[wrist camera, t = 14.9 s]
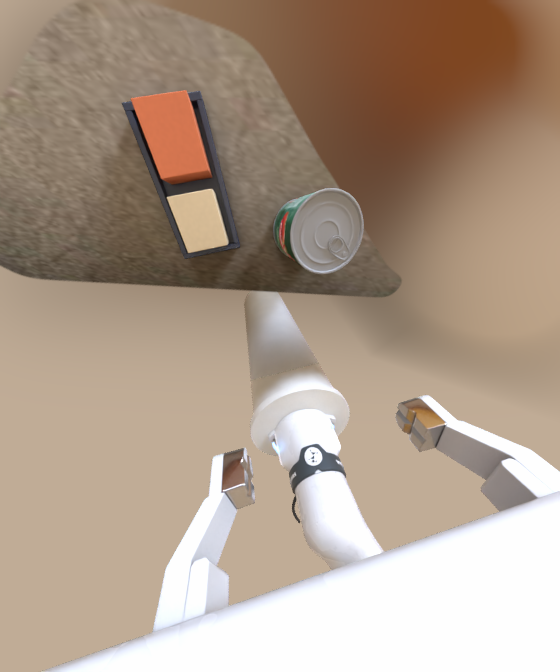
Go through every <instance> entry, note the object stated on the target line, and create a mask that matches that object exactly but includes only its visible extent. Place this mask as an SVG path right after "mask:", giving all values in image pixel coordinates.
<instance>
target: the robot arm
mask: <svg viewBox="0 0 560 672" xmlns="http://www.w3.org/2000/svg"><path fill="white" fill-rule="evenodd" d="M397 408H398V409H399V411H398V412H397V413H396V421H397V423H398V425H399V427H400V428H401V429H402V431H404V432H405V433H407V434H409V439H410V441H411V442H412V443H413V444H414V446H415V447H416V448H417V449H418V450H419V452H421V451H425V450H428V449H432V448H436V449H437V450H439V451H441V452H442V453H444V454H446V455H447V456H449V457H450V458H452V459H453V460H455V461H457V462H458V463H460V464H461V465H463V466H465V467H466V468H468V469H469V470H471V471H473V472H474V473H476V474H477V475H479V476H481V477H482V478H484V479H485V480H486V481H485V483H484V484H483V485H482V487H481V491H482V493H483V494H484V495H485V496H486V497H487V498H488V499H489V500H490V501H491V503H492V504H493V505H494V506H495V507H496V508H497V509H498V510H499V511H500V512H497V513H494V514H492V515H489V516H486V517H483V518H480V519H477V520H474V521H471V522H468V523H466V524H463V525H460V526H457V527H454V528H451V529H448V530H446V531H443V532H440V533H437V534H434V535H431V536H428V537H425V538H423V539H420V540H417V541H414V542H411V543H408V544H405V545H402V546H399V547H397V548H394V549H391V550H388V551H385V552H384V551H383V549H382V548H381V546H380V545H379V544H378V542H377V541H376V539H375V538H374V536H373V534H372V533H371V531H370V530H369V528H368V526H367V524H366V523H365V521H364V519H363V517H362V515H361V512H360V510H359V508H358V506H357V504H356V501H355V500H354V497H353V495H352V492H351V490H350V488H349V486H348V483H347V481H346V479H345V478H346V474H345V471H344V467H343V465H342V463H341V461H340V459H339V457H338V454H339V452H340V443H339V441H338V438H337V436H336V433H335V431H334V426H335V422H336V419H335V417H334V416H333V415H327V414H324V413H323V412H321V411H319V410H316V409H302V410H298V411H295V412H293V413H291V414H289V415H287V416H286V417H284V418H283V419H282V420H281V421H280V422H279V423H278V425H277V427H276V428H275V429H274V430H273V431H271V432H270V433H269V434H268V439H269V441H270V442H271V443H272V444H273V447H274V449H275V450H276V452H277V453H278V454H279V459H280V463H281V465H282V466H283V467H284V468H285V469H286V470H287V471H288V472H289V477H290V484H291V487H292V490H293V493H294V494H295V497H294V500H293V504H292V512H293V515H294V516H295V518H296V520H297V521H298V523H300V520H299V519H298V517H297V515H296V513H295V510H294V507H295V502H296V499H297V504H298V509H299V513H300V518H301V523H302V527H303V532H304V536H305V539H306V542H307V543H308V545H309V547H310V548H311V550H312V551H314V553H316V554H317V555H318V556H319V557H321V558H322V559H323V560H325V562H326V563H327V564H328V565H329V567H330V568H331V569H332V570H331V571H328V572H325V573H322V574H319V575H316V576H313V577H311V578H308V579H305V580H302V581H299V582H296V583H293V584H290V585H287V586H285V587H282V588H279V589H276V590H273V591H270V592H268V593H265V594H262V595H259V596H256V597H253V598H250V599H247V600H244V601H242V602H239V603H236V604H233V605H230V606H228V604H229V602H228V600H229V576H228V574H227V573H226V572H225V571H224V570H222V569H221V568H219V567H218V566H217V563H218V561H219V558H220V555H221V553H222V550H223V547H224V545H225V542H226V539H227V536H228V534H229V531H230V528H231V526H232V523H233V521H234V518H235V515H236V512H237V509H239V508H242V507H245V506H248V505H251V504H254V503H255V497H254V486H253V484H252V482H251V479H252V477H253V469H252V463H251V460H250V457H249V456H248V455H247V450H246V449H245V448H242V449H238V450H235V451H231V452H228V453H224V454H220V455H217V456H214V457H213V460H212V469H211V479H210V488H209V497H207V498H205V500H204V501H203V504H202V505H201V507H200V509H199V511H198V512H197V514H196V516H195V517H194V519H193V521H192V523H191V525H190V526H189V528H188V530H187V532H186V534H185V535H184V537H183V539H182V541H181V542H180V544H179V546H178V548H177V550H176V551H175V553H174V555H173V557H172V558H171V560H170V562H169V564H168V566H167V567H166V570H165V575H164V580H163V585H162V590H161V594H160V599H159V604H158V609H157V613H156V618H155V623H154V628H153V632H152V633H150V634H147V635H144V636H141V637H138V638H135V639H132V640H129V641H127V642H124V643H121V644H118V645H115V646H112V647H110V648H106V649H104V650H101V651H98V652H95V653H92V654H89V655H86V656H84V657H81V658H78V659H75V660H72V661H69V662H66V663H63V664H61V665H58V666H55V667H52V668H49V669H46V670H44V671H41V672H560V472H559V471H558V470H556V469H555V468H554V467H552V466H551V465H550V464H549V463H547V462H546V461H544V460H543V459H542V458H541V457H539V456H538V455H537V454H536V453H534V452H533V451H532V450H530V449H527V448H525V447H522V446H520V445H518V444H515V443H513V442H511V441H508V440H506V439H503V438H501V437H499V436H496V435H494V434H492V433H489V432H487V431H485V430H482V429H480V428H477V427H475V426H473V425H470V424H468V423H466V422H463V421H457V420H456V419H455V418H454V417H453V416H452V415H451V414H449V413H448V412H447V411H446V410H445V409H444V408H443V407H441V406H440V405H439V404H438V403H437V402H436V401H435V400H433V399H432V398H431V397H430V396H427V395H425V396H421V397H418V398H414V399H411V400H408V401H404V402H401V403H399V404H398V407H397Z"/></svg>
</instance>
